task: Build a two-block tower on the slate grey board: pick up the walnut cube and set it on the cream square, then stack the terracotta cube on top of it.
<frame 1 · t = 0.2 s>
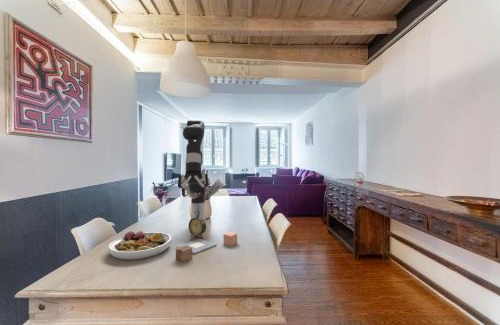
hand: (193, 196, 113), 31 cm above the table, tool tilted 20°, fingers open, 8 cm apart
walnut block: (184, 259, 115), on the table
blueprint board: (196, 246, 131), on the table
terracotta block: (230, 243, 136), on the table
alarm clock: (197, 236, 148), on the table
bowl: (141, 250, 128), on the table
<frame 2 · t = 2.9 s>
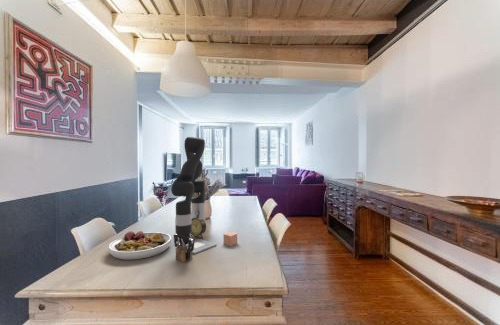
hand: (184, 257, 115), 1 cm above the table, tool pointing down, fingers closed on walnut block, 5 cm apart
walnut block: (184, 259, 115), on the table, touching gripper
everything else where it was.
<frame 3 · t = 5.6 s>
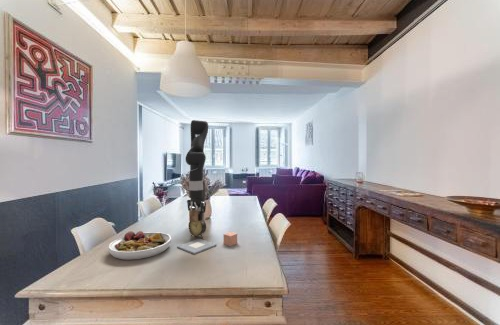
hand: (196, 219, 131), 15 cm above the table, tool pointing down, fingers closed on walnut block, 5 cm apart
walnut block: (196, 220, 131), point 14 cm above the table, touching gripper
everything else where it was.
when the fingers open (3 cm above the table, at t = 8.2 s): walnut block drops 1 cm, resting on blueprint board.
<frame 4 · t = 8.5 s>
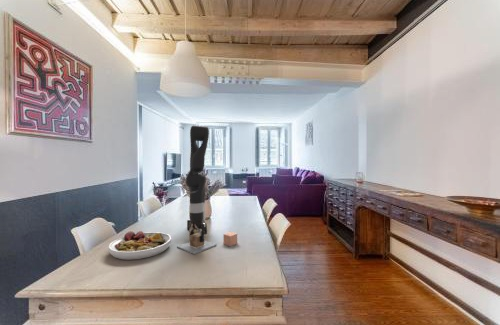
hand: (196, 240, 131), 3 cm above the table, tool pointing down, fingers open, 8 cm apart
walnut block: (197, 245, 131), point 1 cm above the table, touching blueprint board
everything else where it was.
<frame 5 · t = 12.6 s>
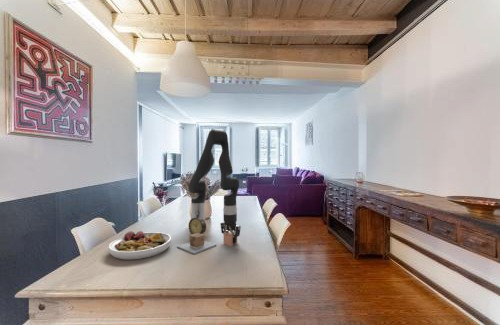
hand: (230, 242, 136), 1 cm above the table, tool pointing down, fingers closed on terracotta block, 5 cm apart
terracotta block: (230, 243, 136), on the table, touching gripper
everything else where it was.
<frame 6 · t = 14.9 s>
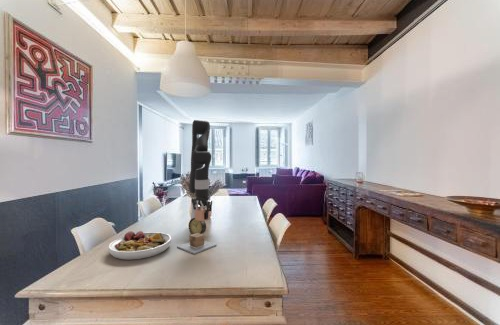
hand: (202, 218, 132), 15 cm above the table, tool pointing down, fingers closed on terracotta block, 5 cm apart
terracotta block: (202, 219, 132), point 15 cm above the table, touching gripper
everything else where it was.
when the fingers open (8 cm above the table, at t = 17.4 s): terracotta block stays where it is, resting on walnut block.
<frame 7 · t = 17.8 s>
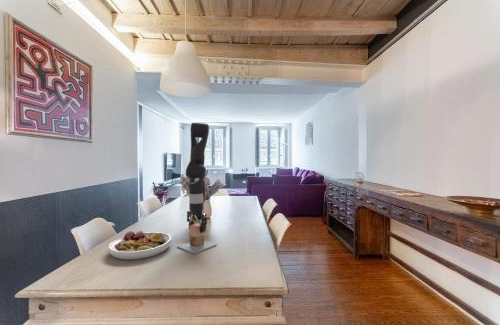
hand: (196, 231, 131), 8 cm above the table, tool pointing down, fingers open, 8 cm apart
walnut block: (197, 245, 131), point 1 cm above the table, touching blueprint board, terracotta block
terracotta block: (196, 235, 131), point 6 cm above the table, touching walnut block
everything else where it was.
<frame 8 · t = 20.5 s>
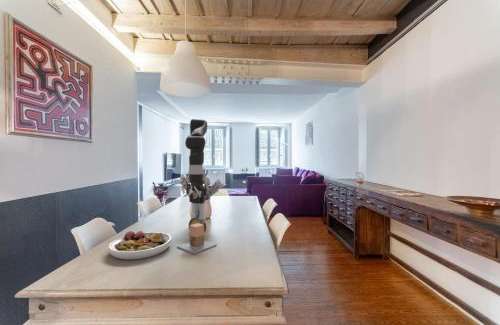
hand: (196, 202, 131), 24 cm above the table, tool pointing down, fingers open, 8 cm apart
nothing on the table moved.
at the end: walnut block 0.1 cm off-centre on the blueprint board, point 0.9 cm above the blueprint board's base; terracotta block 0.1 cm off-centre on the walnut block, point 5.5 cm above the walnut block's base; terracotta block tilted 0° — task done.
